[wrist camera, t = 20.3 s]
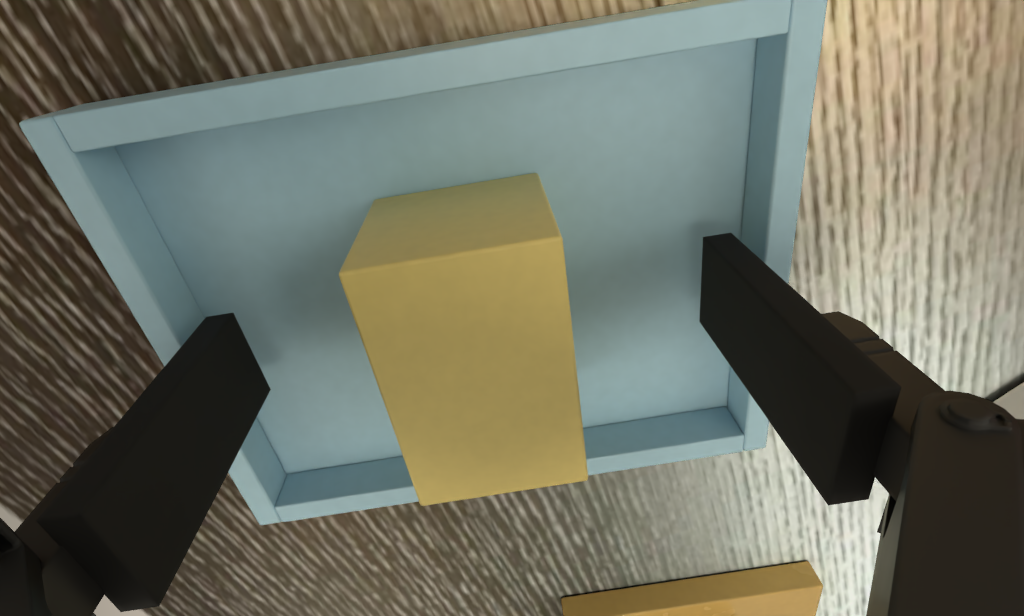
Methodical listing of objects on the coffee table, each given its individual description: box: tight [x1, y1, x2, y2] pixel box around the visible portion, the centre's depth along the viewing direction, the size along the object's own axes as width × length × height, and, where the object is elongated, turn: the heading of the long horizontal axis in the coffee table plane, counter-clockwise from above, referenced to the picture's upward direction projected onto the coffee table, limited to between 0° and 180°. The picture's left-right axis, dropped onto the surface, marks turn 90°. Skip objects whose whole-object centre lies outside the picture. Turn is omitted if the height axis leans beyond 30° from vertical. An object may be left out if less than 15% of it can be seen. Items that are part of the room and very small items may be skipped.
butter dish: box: [19, 0, 827, 525], centre depth 16 cm, size 18×14×2 cm
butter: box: [339, 173, 588, 506], centre depth 14 cm, size 7×4×4 cm, turn 9°
